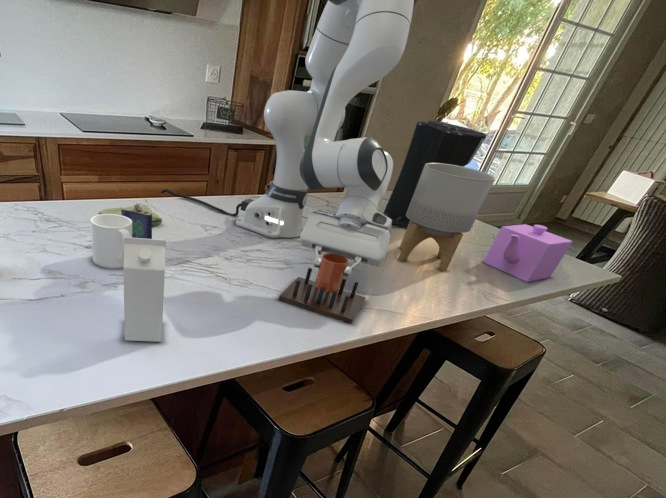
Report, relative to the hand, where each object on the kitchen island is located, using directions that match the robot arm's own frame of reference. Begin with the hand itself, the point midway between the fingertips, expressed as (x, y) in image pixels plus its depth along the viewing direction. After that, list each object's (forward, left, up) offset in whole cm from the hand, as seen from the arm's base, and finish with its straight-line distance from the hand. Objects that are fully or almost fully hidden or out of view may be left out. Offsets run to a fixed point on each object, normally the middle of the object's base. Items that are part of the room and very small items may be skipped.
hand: (331, 270), depth 101 cm
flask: (-55, 0, -8) cm, 56 cm away
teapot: (+45, +66, -8) cm, 80 cm away
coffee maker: (+6, +94, -8) cm, 94 cm away
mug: (-51, -15, -8) cm, 54 cm away
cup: (0, +1, -4) cm, 4 cm away
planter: (+18, +53, -8) cm, 56 cm away
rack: (0, +1, -8) cm, 8 cm away
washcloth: (-67, +13, -8) cm, 69 cm away
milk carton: (-26, -38, -8) cm, 47 cm away
